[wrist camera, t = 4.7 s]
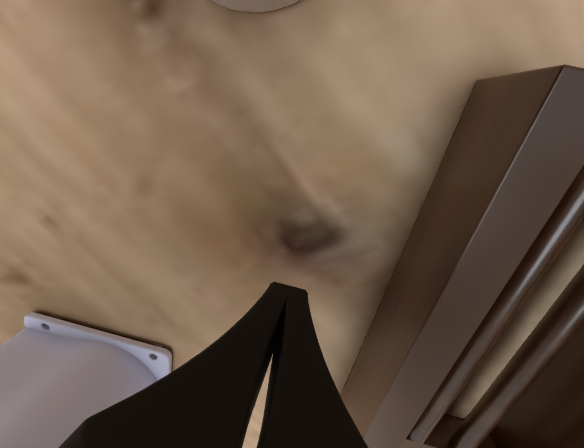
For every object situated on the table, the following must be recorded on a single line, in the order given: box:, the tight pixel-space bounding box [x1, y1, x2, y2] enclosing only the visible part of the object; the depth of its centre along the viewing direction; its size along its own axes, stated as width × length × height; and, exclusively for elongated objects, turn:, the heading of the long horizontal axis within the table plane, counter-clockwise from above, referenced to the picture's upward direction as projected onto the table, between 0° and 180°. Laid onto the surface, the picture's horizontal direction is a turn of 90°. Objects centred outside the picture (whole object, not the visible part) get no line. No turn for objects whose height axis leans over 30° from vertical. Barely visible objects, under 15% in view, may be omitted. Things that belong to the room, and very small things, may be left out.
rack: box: [341, 65, 584, 448], centre depth 10 cm, size 10×18×7 cm, turn 168°
